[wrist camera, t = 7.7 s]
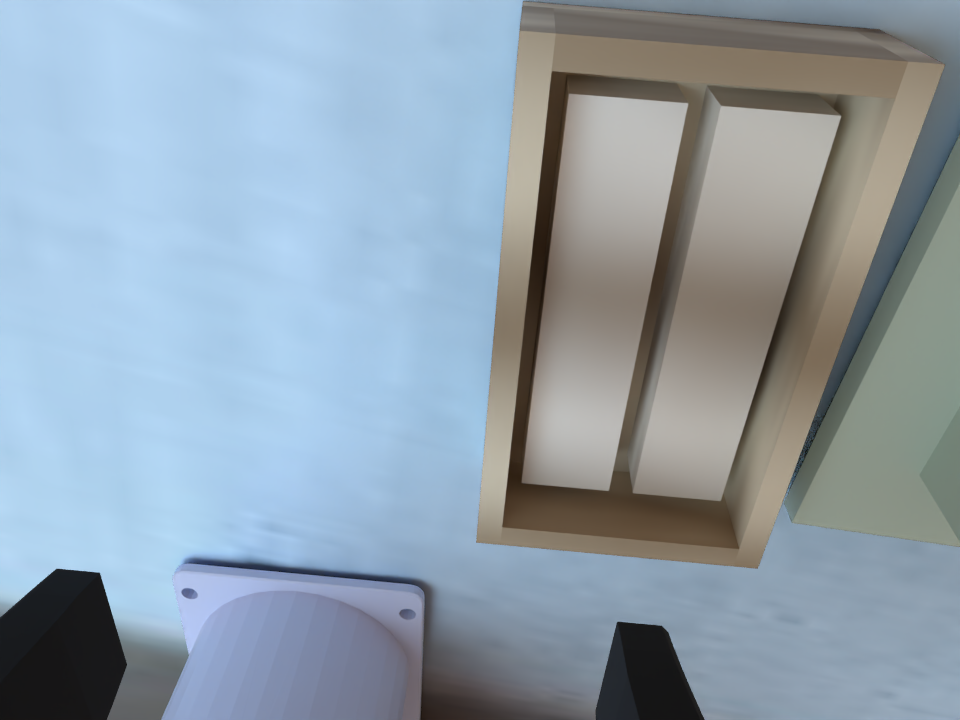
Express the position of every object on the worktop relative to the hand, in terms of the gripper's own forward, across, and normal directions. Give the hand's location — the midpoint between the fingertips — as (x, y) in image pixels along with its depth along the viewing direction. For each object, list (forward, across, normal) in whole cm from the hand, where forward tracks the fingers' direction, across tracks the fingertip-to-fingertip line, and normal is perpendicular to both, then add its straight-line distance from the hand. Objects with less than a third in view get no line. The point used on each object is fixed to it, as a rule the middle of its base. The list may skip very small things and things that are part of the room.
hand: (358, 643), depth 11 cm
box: (+10, -5, -1) cm, 11 cm away
